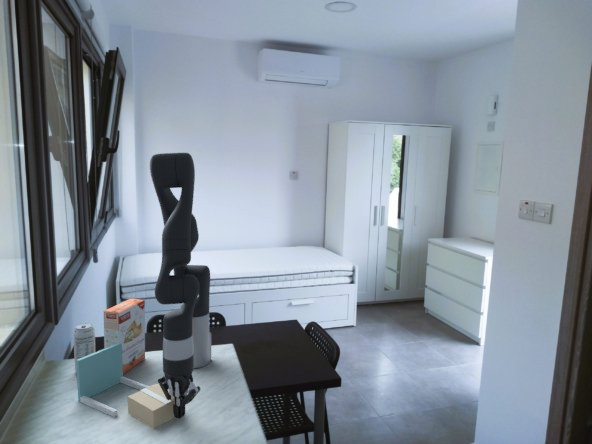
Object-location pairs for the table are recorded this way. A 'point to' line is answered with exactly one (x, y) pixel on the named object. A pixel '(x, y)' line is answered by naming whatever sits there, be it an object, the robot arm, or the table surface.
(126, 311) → the cracker box
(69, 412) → the table surface
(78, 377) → the display stand
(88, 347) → the energy drink can
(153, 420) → the kraft carton
